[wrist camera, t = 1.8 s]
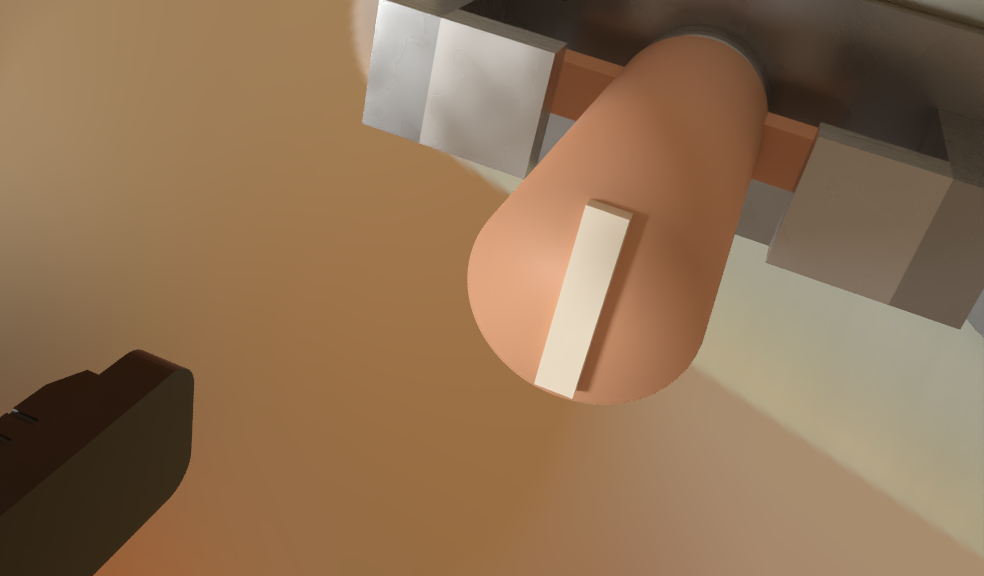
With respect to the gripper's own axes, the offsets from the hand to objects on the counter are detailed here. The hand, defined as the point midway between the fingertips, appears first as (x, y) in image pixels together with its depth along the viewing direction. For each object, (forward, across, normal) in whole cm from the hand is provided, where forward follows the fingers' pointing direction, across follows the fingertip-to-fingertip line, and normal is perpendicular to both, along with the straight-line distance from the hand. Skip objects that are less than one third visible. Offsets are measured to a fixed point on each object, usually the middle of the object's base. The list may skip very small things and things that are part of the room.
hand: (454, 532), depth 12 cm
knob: (+18, 0, 0) cm, 19 cm away
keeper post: (+22, 0, 0) cm, 22 cm away
